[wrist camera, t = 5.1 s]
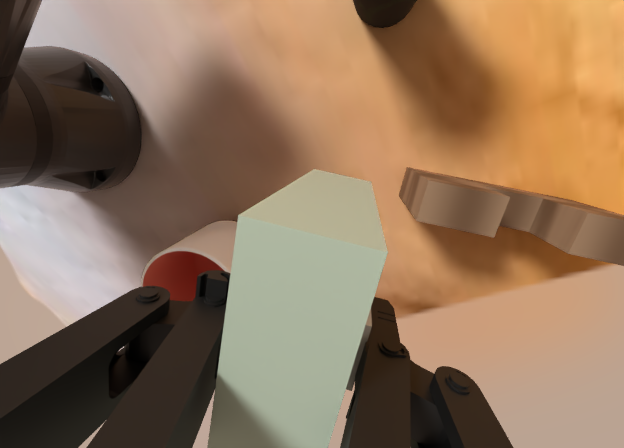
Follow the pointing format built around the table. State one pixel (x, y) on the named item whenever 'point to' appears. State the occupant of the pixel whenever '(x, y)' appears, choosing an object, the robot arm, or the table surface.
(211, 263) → the cup
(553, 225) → the walnut stand
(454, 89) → the table surface
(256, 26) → the table surface
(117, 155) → the robot arm
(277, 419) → the sage plate
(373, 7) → the cup
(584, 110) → the table surface
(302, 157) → the table surface
